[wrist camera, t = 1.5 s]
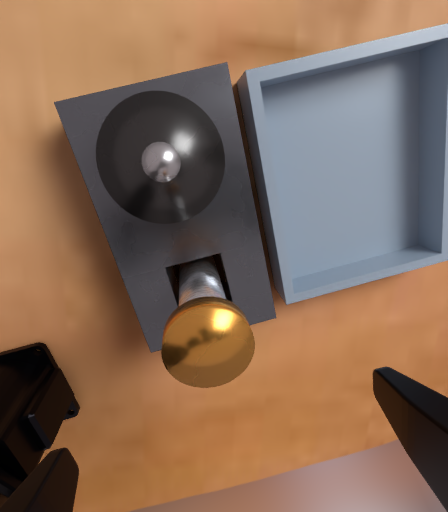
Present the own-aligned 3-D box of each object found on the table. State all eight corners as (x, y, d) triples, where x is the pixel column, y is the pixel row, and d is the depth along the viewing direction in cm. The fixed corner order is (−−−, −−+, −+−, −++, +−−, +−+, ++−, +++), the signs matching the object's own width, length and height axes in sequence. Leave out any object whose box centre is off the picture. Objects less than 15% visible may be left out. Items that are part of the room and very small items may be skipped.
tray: (275, 287, 21) (286, 304, 19) (236, 82, 16) (245, 70, 14) (420, 248, 22) (449, 259, 19) (422, 38, 17) (461, 20, 15)
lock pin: (178, 296, 20) (176, 397, 12) (163, 248, 19) (148, 323, 11) (229, 283, 20) (262, 373, 12) (217, 234, 19) (244, 297, 11)
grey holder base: (155, 325, 21) (146, 380, 16) (76, 111, 16) (27, 91, 11) (263, 296, 21) (289, 340, 16) (219, 77, 16) (236, 43, 11)
